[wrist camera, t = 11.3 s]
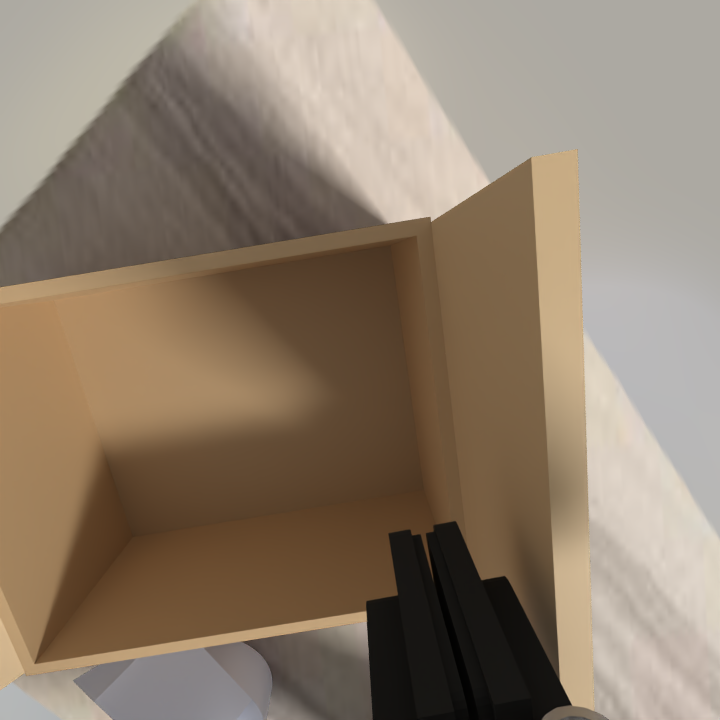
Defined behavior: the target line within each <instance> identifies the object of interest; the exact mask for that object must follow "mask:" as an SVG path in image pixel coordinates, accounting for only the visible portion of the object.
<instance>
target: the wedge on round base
mask: <svg viewBox="0 0 720 720" xmlns="http://www.w3.org/2000/svg"><path fill="white" fill-rule="evenodd" d="M73 681H74V682H75V683H76V684H77V685H78V686H79V687H80V688H81V689H82V690H83V691H84V692H85V693H86V694H87V695H88V696H89V697H90V698H91V699H92V700H93V701H94V702H95V703H96V704H97V705H98V706H99V707H100V708H101V709H102V710H103V711H104V712H106V713H107V714H108V715H109V716H110V717H111V718H112V719H113V720H267V714H268V708H269V703H270V697H271V691H272V674H271V671H270V668H269V666H268V664H267V662H266V661H265V660H264V658H263V657H262V656H261V655H260V654H259V653H258V652H257V651H256V650H254V649H253V648H252V647H250V646H248V645H247V644H245V643H243V642H235V643H229V644H223V645H217V646H210V647H204V648H198V649H192V650H185V651H179V652H173V653H167V654H161V655H154V656H148V657H142V658H136V659H129V660H123V661H117V662H111V663H104V664H100V665H98V666H96V667H95V668H93V669H91V670H90V671H88V672H86V673H85V674H83V675H81V676H80V677H78V678H76V679H75V680H73Z"/></svg>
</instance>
